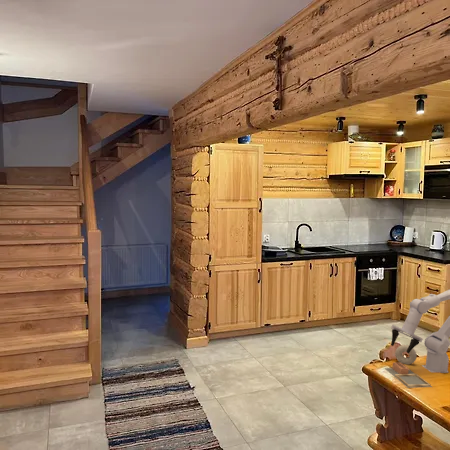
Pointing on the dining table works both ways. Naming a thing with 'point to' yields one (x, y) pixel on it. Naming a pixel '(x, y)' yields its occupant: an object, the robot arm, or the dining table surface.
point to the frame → (414, 384)
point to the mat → (407, 378)
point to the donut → (402, 359)
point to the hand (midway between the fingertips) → (399, 349)
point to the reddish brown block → (400, 368)
